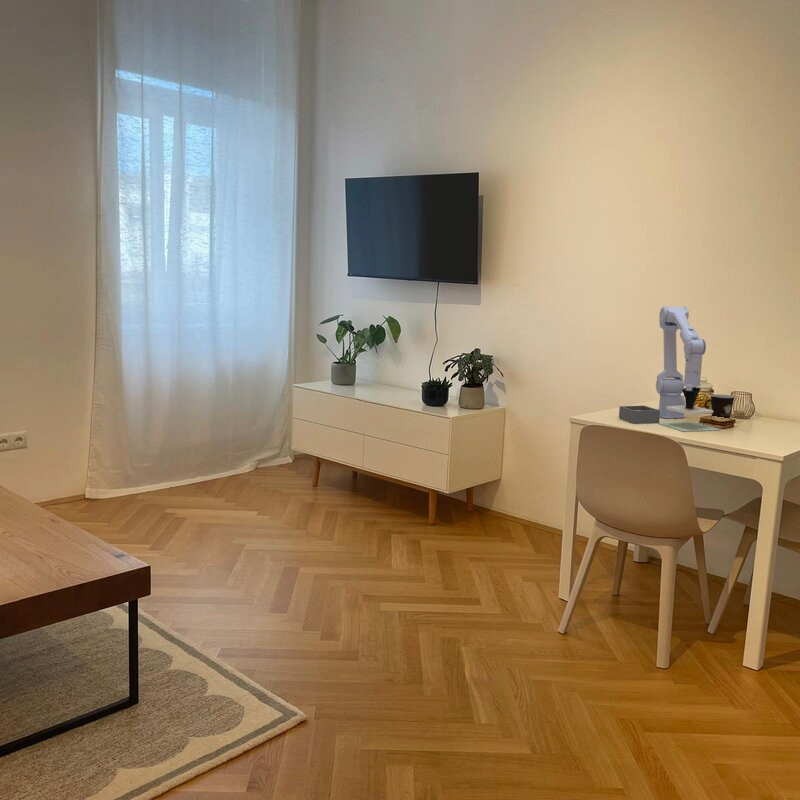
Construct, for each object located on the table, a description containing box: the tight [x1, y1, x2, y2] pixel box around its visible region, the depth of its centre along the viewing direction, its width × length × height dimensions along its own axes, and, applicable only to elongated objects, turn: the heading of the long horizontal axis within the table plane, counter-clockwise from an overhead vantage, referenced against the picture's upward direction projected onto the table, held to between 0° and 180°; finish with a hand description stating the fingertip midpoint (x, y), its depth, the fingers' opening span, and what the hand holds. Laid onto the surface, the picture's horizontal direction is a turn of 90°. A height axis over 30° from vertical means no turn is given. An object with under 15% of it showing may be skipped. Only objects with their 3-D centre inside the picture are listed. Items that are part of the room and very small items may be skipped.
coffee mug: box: [704, 394, 735, 419], centre depth 328 cm, size 12×9×10 cm
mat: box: [657, 421, 721, 433], centre depth 315 cm, size 16×16×1 cm
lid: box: [666, 402, 713, 416], centre depth 314 cm, size 12×12×4 cm
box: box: [618, 405, 661, 425], centre depth 325 cm, size 11×11×5 cm
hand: (690, 407), depth 314 cm, fingers closed on lid, 3 cm apart
